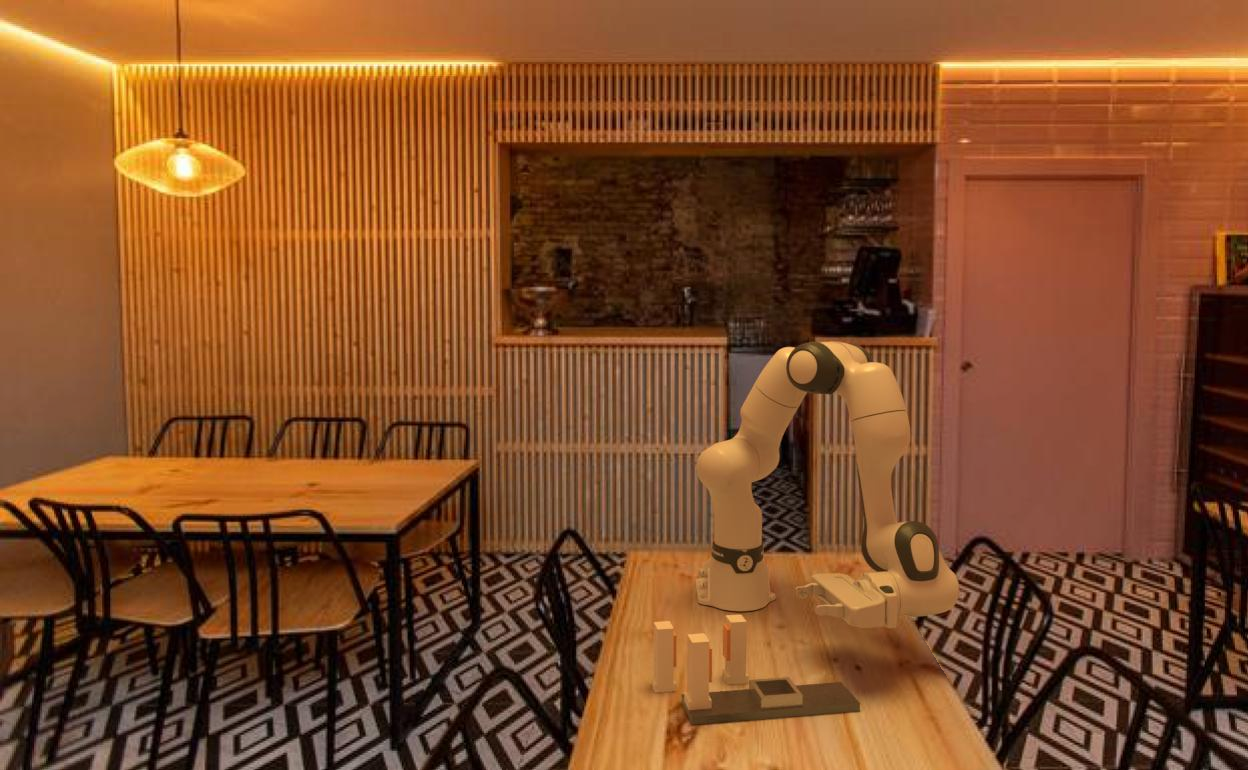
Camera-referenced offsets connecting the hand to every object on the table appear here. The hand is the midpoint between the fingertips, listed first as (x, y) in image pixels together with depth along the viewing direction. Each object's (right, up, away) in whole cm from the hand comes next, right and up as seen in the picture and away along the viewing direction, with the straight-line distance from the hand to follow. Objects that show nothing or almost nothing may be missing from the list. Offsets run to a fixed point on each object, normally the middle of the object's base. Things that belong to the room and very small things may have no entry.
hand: (806, 600), depth 157 cm
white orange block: (-27, -15, -3) cm, 31 cm away
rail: (-9, -16, -11) cm, 21 cm away
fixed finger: (-22, -15, -13) cm, 29 cm away
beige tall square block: (-13, -15, 0) cm, 20 cm away
